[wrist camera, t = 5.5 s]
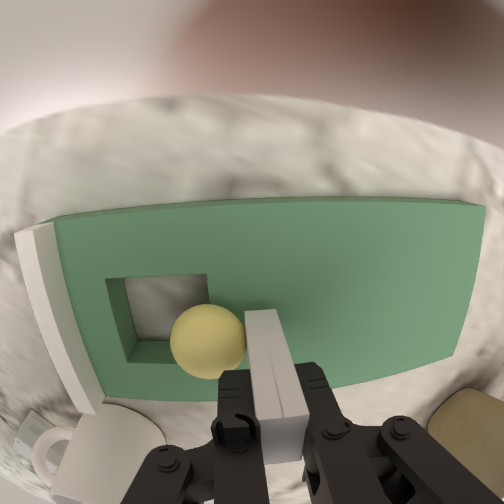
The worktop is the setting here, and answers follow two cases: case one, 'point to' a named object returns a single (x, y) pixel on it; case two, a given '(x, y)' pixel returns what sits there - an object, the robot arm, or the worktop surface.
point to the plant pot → (473, 434)
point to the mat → (255, 285)
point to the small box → (31, 433)
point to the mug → (97, 455)
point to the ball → (208, 341)
